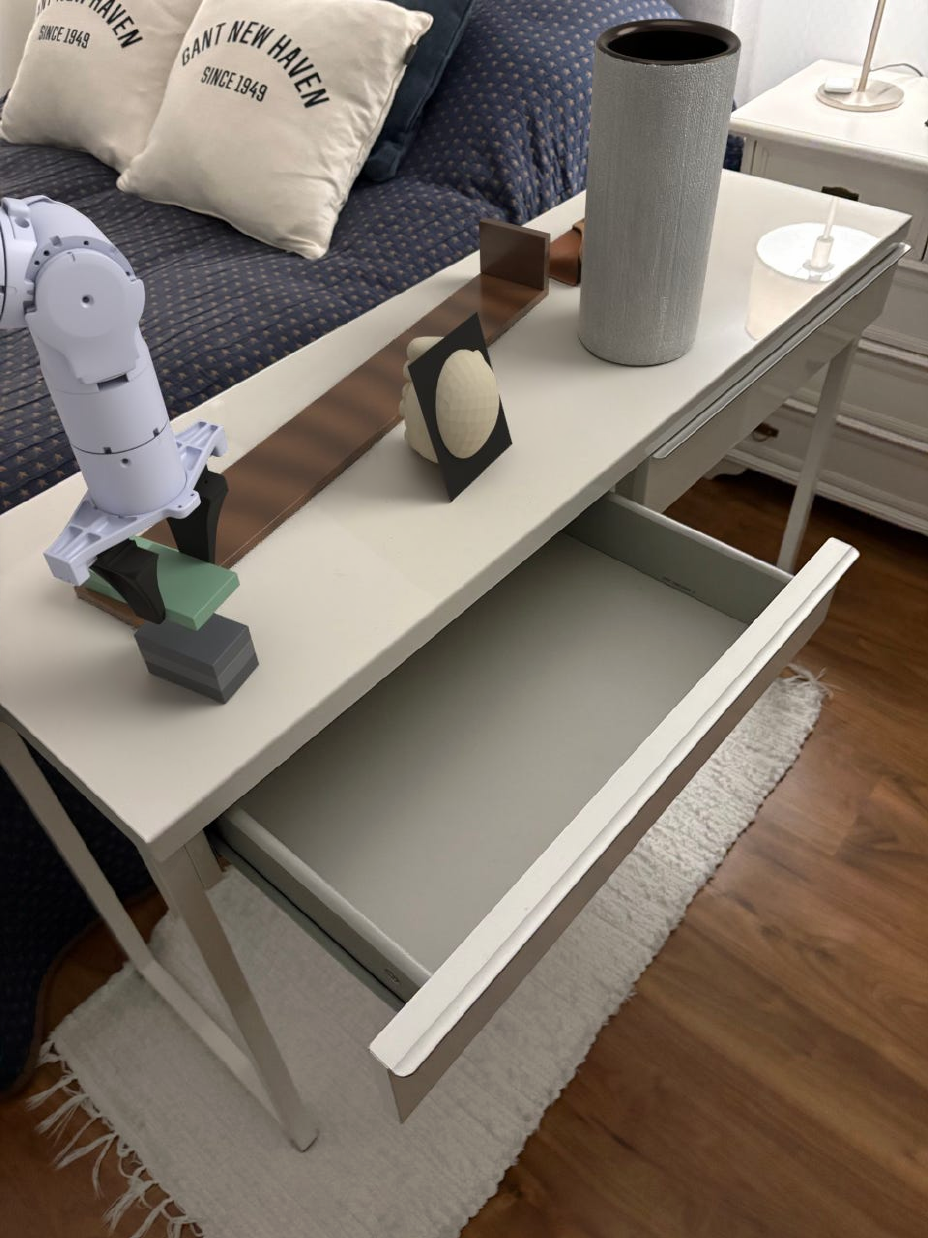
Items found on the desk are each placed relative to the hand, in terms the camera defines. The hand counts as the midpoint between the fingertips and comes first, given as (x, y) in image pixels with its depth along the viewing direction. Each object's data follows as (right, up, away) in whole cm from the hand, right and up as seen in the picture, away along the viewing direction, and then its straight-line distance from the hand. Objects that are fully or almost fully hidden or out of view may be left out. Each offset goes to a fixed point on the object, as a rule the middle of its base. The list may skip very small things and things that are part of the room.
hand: (176, 591), depth 66 cm
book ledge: (+9, +17, +27) cm, 33 cm away
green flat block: (-6, +1, +11) cm, 13 cm away
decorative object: (+18, +13, +22) cm, 32 cm away
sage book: (0, 0, 0) cm, 0 cm away
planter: (+38, +28, +36) cm, 59 cm away
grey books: (0, -5, +6) cm, 8 cm away
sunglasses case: (+35, +42, +50) cm, 74 cm away
